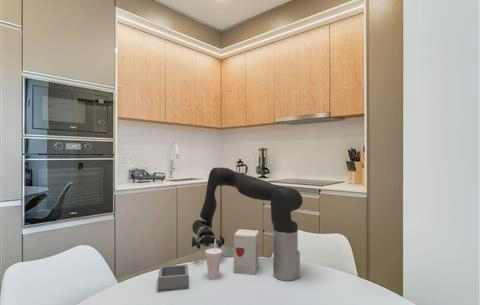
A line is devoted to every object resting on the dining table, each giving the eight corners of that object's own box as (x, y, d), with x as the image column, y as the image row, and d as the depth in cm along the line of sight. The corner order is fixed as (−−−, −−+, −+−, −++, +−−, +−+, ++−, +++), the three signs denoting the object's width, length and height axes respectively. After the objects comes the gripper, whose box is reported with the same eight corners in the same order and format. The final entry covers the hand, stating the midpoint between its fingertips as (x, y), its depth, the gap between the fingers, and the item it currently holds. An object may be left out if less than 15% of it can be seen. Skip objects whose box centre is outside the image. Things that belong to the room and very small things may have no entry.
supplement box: (232, 273, 101) (233, 234, 102) (238, 264, 110) (238, 228, 111) (255, 275, 99) (256, 235, 100) (259, 266, 108) (259, 230, 109)
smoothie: (219, 281, 94) (219, 242, 95) (202, 279, 95) (202, 241, 96) (223, 274, 100) (224, 237, 101) (207, 272, 101) (208, 236, 102)
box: (187, 276, 98) (187, 264, 98) (188, 288, 88) (188, 275, 88) (159, 279, 95) (159, 266, 96) (157, 292, 86) (158, 278, 86)
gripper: (190, 228, 123) (192, 237, 107) (220, 227, 126) (226, 236, 111) (190, 244, 123) (192, 256, 107) (220, 242, 126) (226, 253, 110)
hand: (209, 246), depth 109 cm, fingers open, 8 cm apart
